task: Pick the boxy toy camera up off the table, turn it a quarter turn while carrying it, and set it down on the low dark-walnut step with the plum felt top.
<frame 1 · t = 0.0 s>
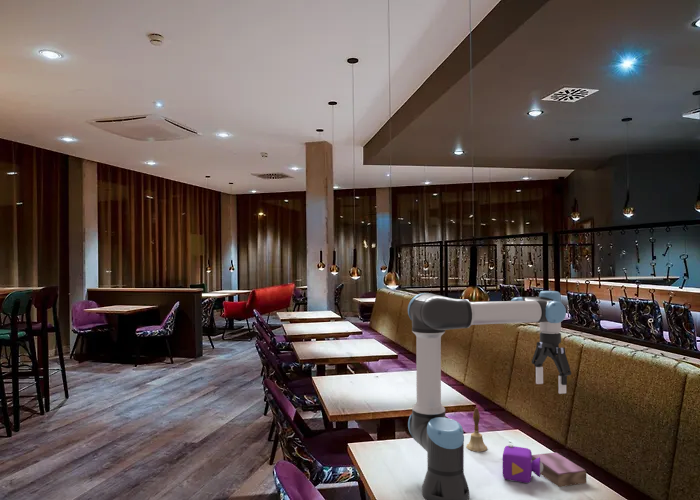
hand: (550, 388, 184), 28 cm above the table, tool pointing down, fingers open, 13 cm apart
hand bell: (476, 448, 199), on the table
toy camera: (522, 478, 172), on the table
walnut step: (557, 474, 174), on the table
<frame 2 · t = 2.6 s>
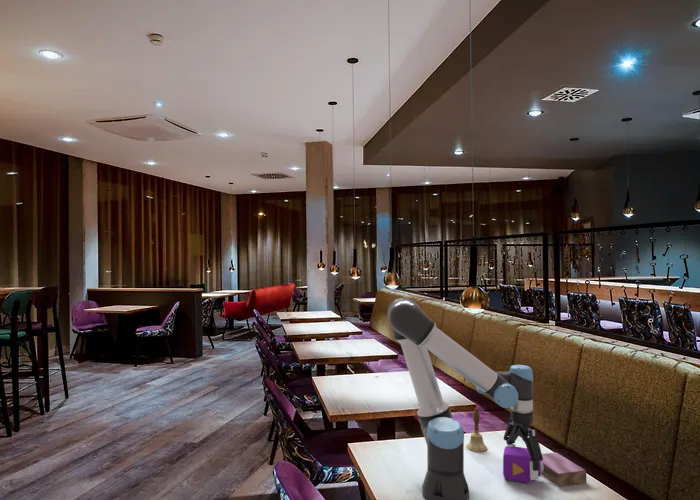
hand: (522, 470, 172), 2 cm above the table, tool pointing down, fingers open, 13 cm apart
toy camera: (522, 478, 172), on the table, touching gripper
everything else where it was.
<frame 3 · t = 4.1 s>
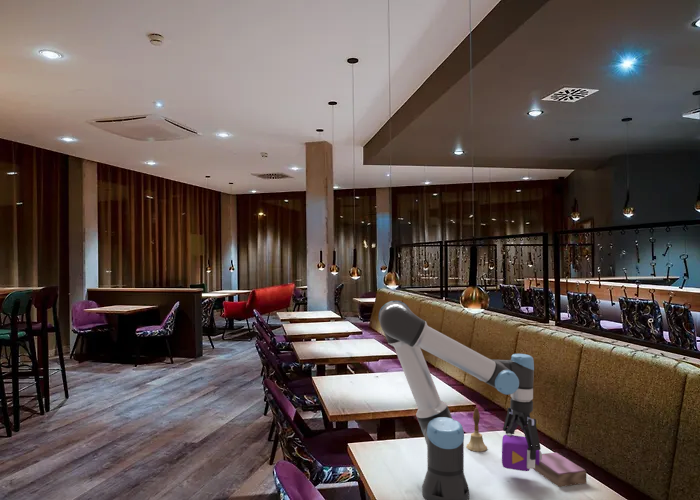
hand: (520, 460, 172), 6 cm above the table, tool pointing down, fingers closed on toy camera, 12 cm apart
toy camera: (520, 467, 172), point 4 cm above the table, touching gripper
everything else where it was.
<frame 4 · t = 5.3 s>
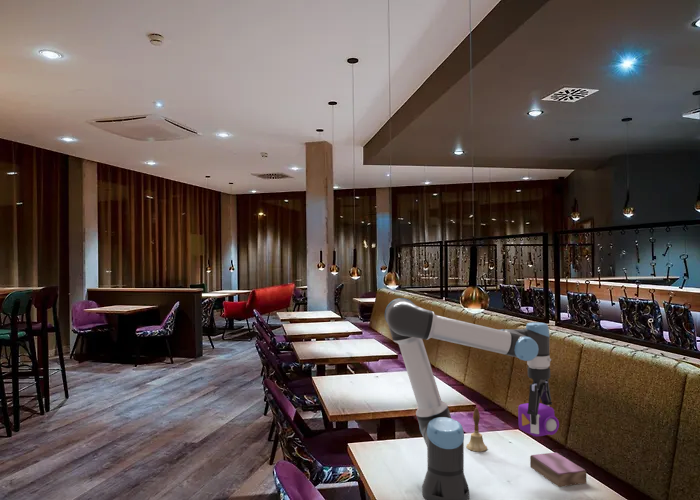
hand: (540, 427, 173), 17 cm above the table, tool pointing down, fingers closed on toy camera, 12 cm apart
toy camera: (540, 434, 173), point 15 cm above the table, touching gripper
everything else where it was.
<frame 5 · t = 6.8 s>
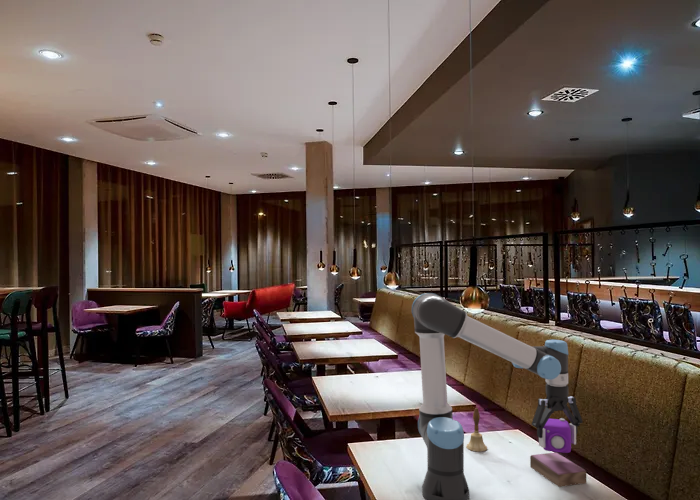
hand: (557, 444, 174), 11 cm above the table, tool pointing down, fingers closed on toy camera, 12 cm apart
toy camera: (556, 450, 174), point 9 cm above the table, touching gripper
everything else where it was.
when the fingers open (8 cm above the table, at t = 8.0 s): toy camera drops 1 cm, resting on walnut step.
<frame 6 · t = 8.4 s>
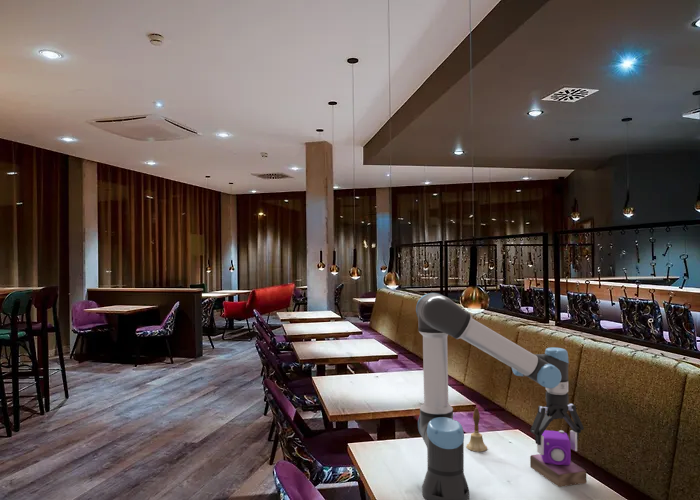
hand: (557, 451, 174), 8 cm above the table, tool pointing down, fingers open, 13 cm apart
toy camera: (556, 463, 174), point 4 cm above the table, touching walnut step
everything else where it was.
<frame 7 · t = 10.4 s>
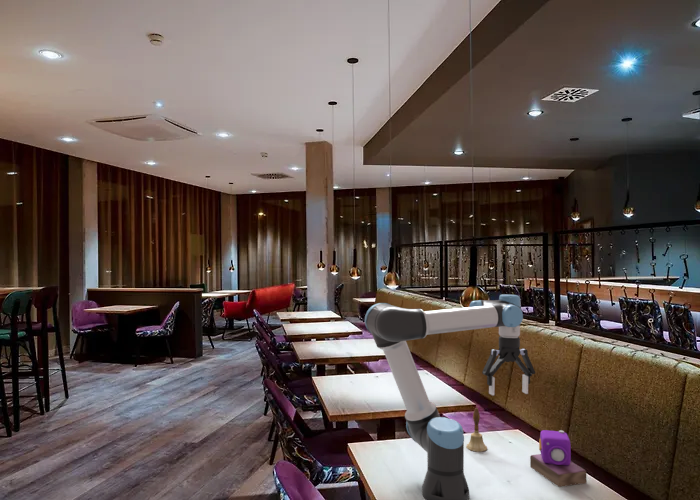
hand: (508, 393, 181), 27 cm above the table, tool pointing down, fingers open, 13 cm apart
nothing on the table moved.
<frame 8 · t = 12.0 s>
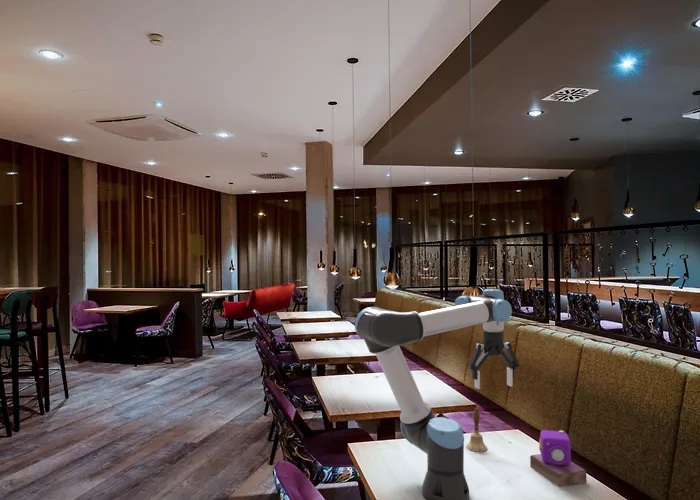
hand: (493, 386, 184), 29 cm above the table, tool pointing down, fingers open, 13 cm apart
nothing on the table moved.
at the end: toy camera inside the target area on the walnut step (0.4 cm from its centre), point 4.2 cm above the walnut step's base; the gripper is holding nothing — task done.
